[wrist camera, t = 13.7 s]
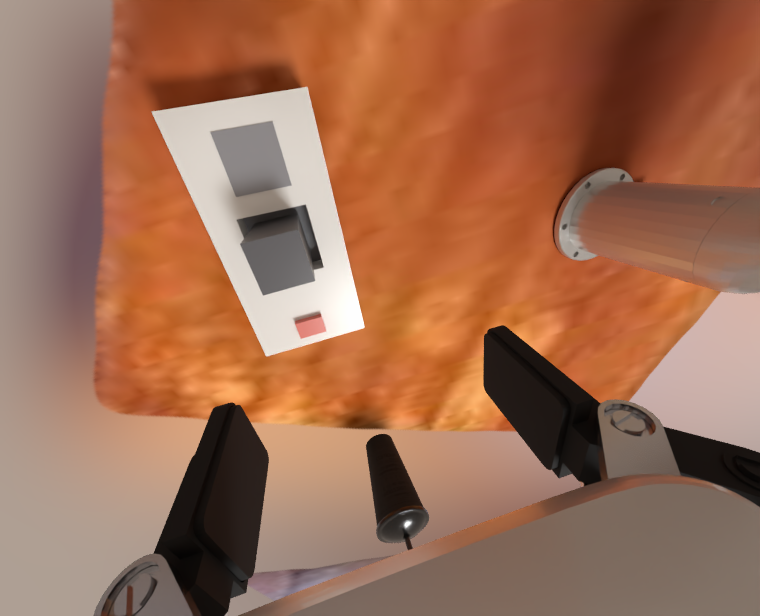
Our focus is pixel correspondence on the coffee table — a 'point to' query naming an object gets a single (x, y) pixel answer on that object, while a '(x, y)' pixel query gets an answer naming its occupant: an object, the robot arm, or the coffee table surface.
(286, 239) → the plug
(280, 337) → the power strip
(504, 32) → the coffee table surface
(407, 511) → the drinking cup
